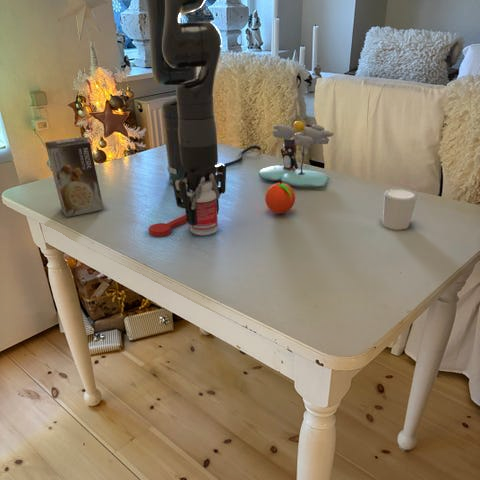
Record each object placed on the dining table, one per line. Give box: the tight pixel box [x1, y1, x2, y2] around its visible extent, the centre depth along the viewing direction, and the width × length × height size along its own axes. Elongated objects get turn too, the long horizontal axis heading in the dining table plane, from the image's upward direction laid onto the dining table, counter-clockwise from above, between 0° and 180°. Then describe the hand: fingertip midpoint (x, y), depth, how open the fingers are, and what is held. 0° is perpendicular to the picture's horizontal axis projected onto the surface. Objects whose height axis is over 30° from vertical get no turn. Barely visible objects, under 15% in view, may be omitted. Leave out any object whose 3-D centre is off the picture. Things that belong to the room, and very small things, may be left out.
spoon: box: [148, 214, 187, 238], centre depth 111 cm, size 17×5×1 cm, turn 141°
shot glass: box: [382, 188, 418, 231], centre depth 107 cm, size 7×7×7 cm
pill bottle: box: [188, 181, 219, 236], centre depth 105 cm, size 6×6×11 cm
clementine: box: [264, 182, 296, 214], centre depth 113 cm, size 8×7×7 cm
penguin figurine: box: [258, 120, 334, 189], centre depth 129 cm, size 20×11×15 cm, turn 53°
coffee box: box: [44, 136, 105, 218], centre depth 115 cm, size 9×6×16 cm
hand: (203, 219), depth 106 cm, fingers closed on pill bottle, 6 cm apart
